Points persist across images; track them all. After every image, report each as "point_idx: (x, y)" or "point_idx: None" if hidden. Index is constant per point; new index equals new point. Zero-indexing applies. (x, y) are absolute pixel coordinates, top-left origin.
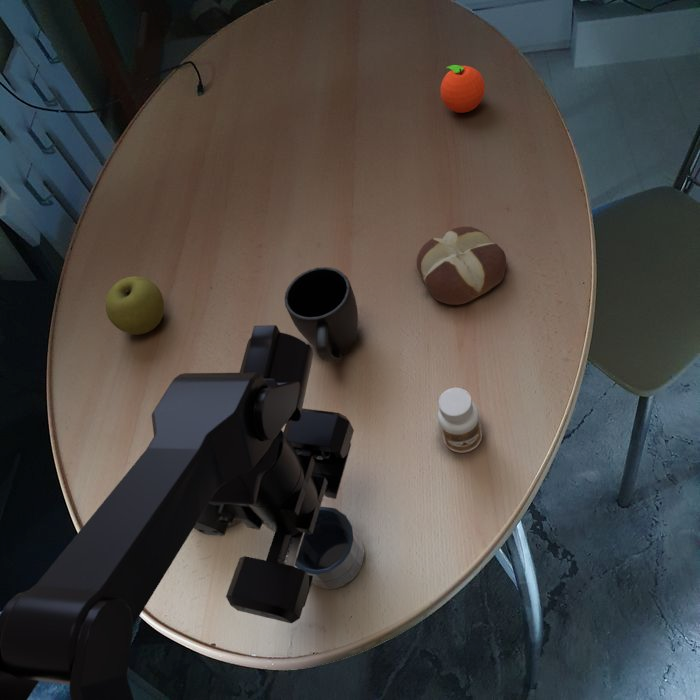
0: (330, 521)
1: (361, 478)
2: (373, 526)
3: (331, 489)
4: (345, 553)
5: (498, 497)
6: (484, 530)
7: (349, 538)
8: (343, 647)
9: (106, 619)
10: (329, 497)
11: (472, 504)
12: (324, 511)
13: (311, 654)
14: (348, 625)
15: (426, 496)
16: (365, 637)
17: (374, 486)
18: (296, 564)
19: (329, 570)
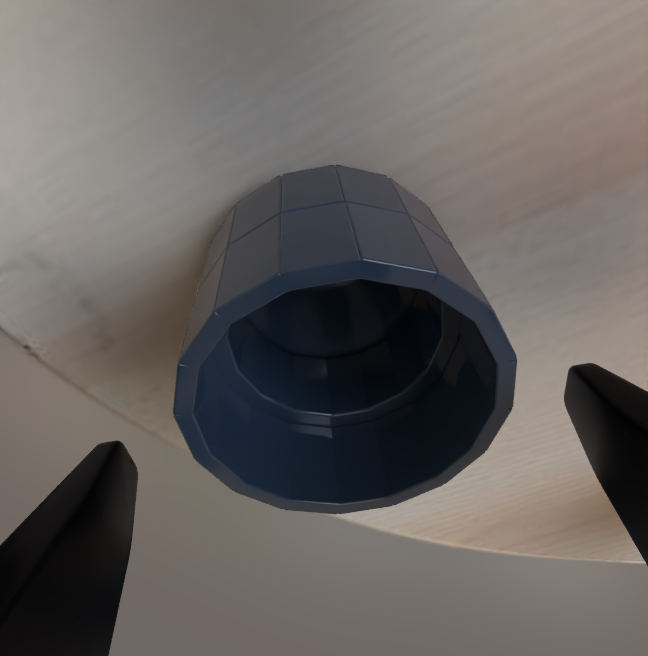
0: (449, 307)
1: (639, 244)
2: None
3: (628, 494)
4: (327, 506)
5: (576, 532)
6: (497, 533)
7: (406, 311)
8: (100, 405)
9: None
10: (569, 381)
11: (557, 504)
12: (490, 356)
13: (17, 343)
14: (159, 395)
15: (574, 427)
16: (159, 437)
17: (606, 296)
18: (184, 378)
19: (236, 490)
